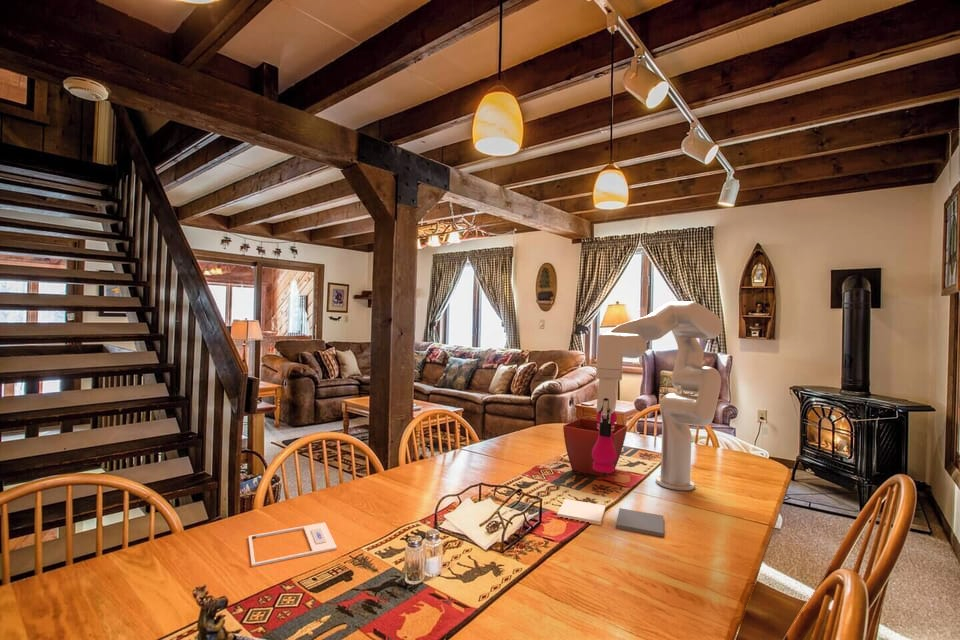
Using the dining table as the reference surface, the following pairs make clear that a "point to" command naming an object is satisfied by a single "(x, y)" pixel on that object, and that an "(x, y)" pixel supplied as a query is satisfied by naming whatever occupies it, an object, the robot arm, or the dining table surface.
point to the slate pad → (640, 522)
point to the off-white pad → (582, 511)
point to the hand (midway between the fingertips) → (606, 433)
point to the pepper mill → (604, 448)
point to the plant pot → (589, 444)
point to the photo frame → (315, 534)
